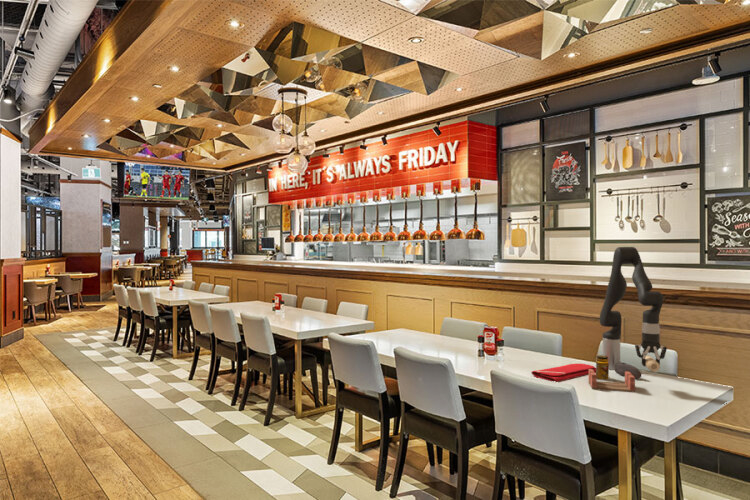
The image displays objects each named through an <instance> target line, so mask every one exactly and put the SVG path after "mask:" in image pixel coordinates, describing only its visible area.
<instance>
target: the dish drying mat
mask: <svg viewBox="0 0 750 500" xmlns="http://www.w3.org/2000/svg"><path fill="white" fill-rule="evenodd" d="M588 369H593V371H594V372H595V373H596V366H594V365H591V364H586V363H570V364H565V365H560V366H555V367H548V368H544V369H539V370H532V371H531V373H530V374H532V375H533V377H535V378H537V379H540V380H545V381H549V382H552V381H556V382H555V383H558V382H562V380H563V381H566V380H572V379H574V378H575V379H576V378H579V377H582V376H587V375H588Z"/></svg>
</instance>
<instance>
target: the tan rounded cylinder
mask: <svg viewBox="0 0 750 500" xmlns="http://www.w3.org/2000/svg"><path fill="white" fill-rule="evenodd" d="M645 359H646V366H645V367H646V368H647V370H649V371H650V372H658V371H659V370H660V368H661V364H660V365H659V363H658V362H656V359H654V358H653V357H652V356H650V355H646V357H645Z"/></svg>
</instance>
